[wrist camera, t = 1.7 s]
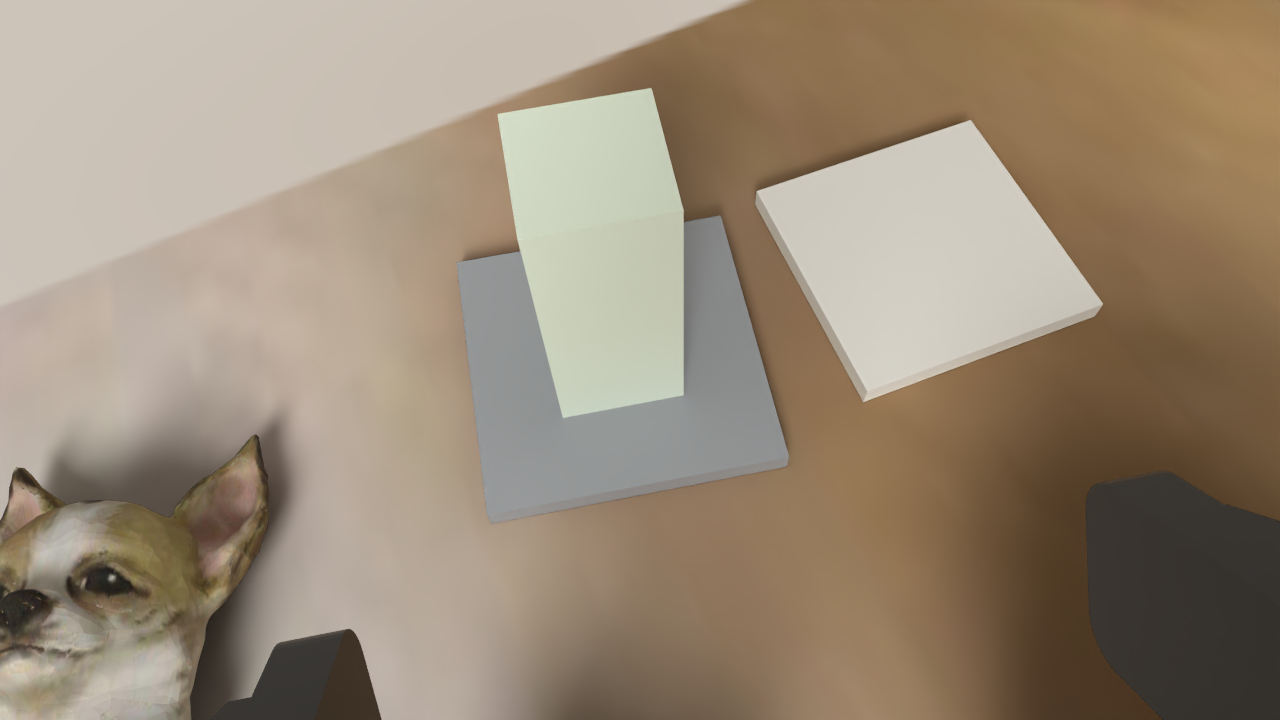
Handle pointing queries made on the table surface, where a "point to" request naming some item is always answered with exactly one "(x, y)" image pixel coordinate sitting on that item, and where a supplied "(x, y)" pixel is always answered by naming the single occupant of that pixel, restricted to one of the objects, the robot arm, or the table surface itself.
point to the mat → (923, 259)
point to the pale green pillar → (601, 247)
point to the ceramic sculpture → (119, 594)
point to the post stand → (626, 436)
